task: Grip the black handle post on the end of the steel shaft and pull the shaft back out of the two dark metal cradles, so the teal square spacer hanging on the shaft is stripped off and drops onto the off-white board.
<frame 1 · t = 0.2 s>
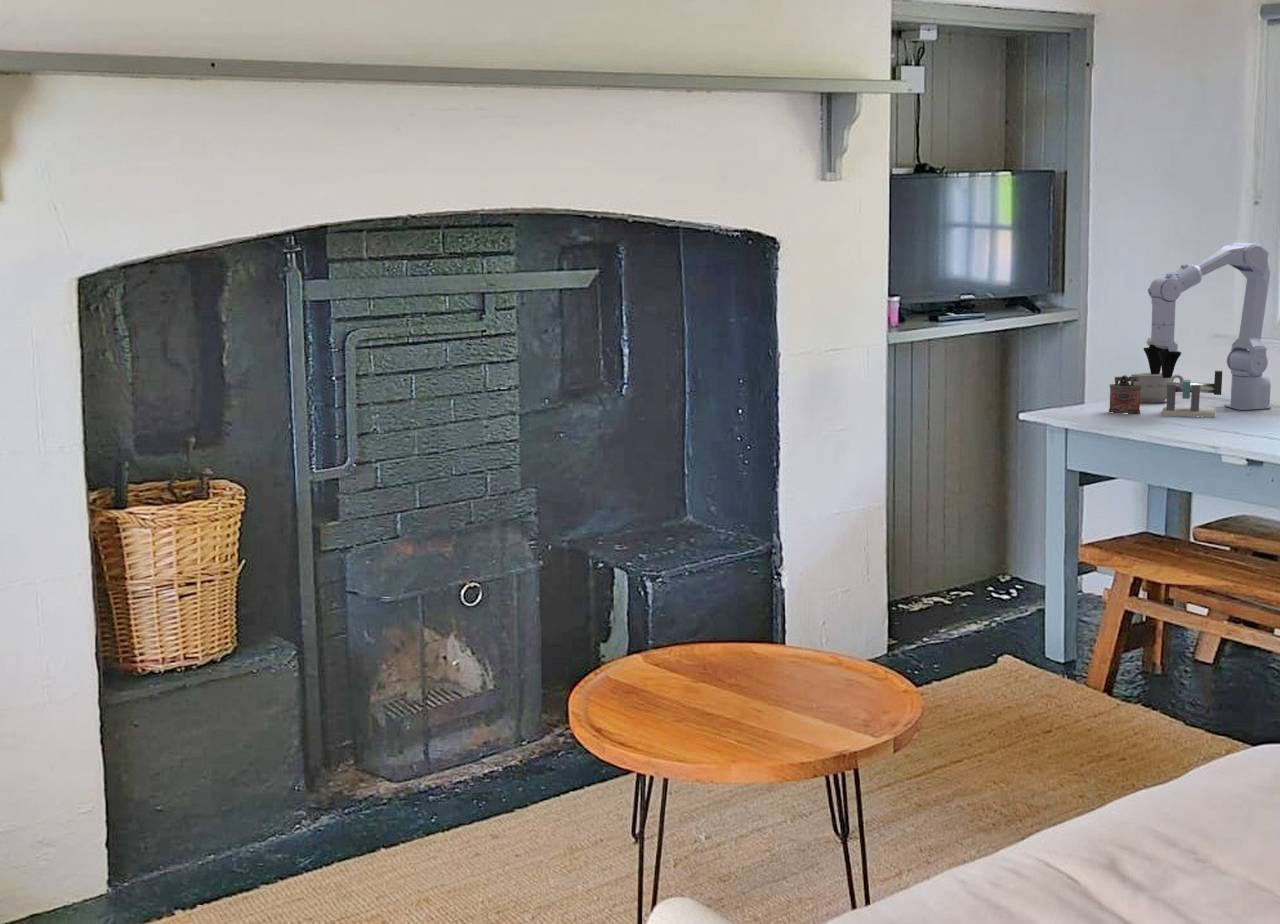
hand: (1161, 375, 410), 10 cm above the table, tool pointing down, fingers open, 7 cm apart
shaft: (1194, 382, 409), point 8 cm above the table, slide at 0.0 cm, touching spacer
shaft stand: (1186, 414, 411), on the table
teacup: (1156, 402, 433), on the table
spacer: (1186, 397, 410), point 4 cm above the table, touching shaft
lighter: (1124, 413, 414), on the table
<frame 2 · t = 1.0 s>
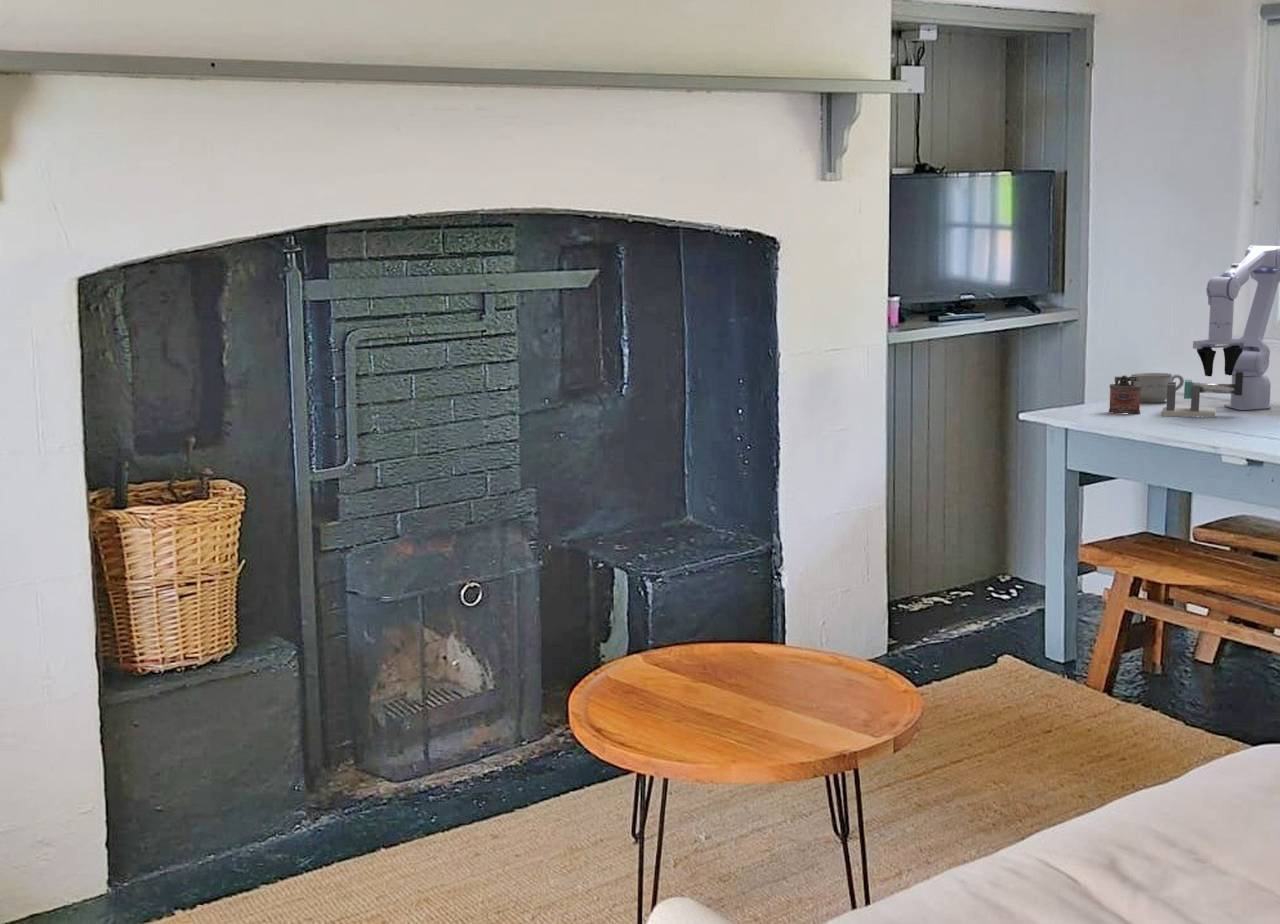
hand: (1218, 375, 406), 10 cm above the table, tool pointing down, fingers open, 5 cm apart
shaft: (1214, 382, 407), point 9 cm above the table, slide at 5.0 cm, touching spacer
spacer: (1187, 397, 410), point 4 cm above the table, touching shaft, shaft stand
everything else where it was.
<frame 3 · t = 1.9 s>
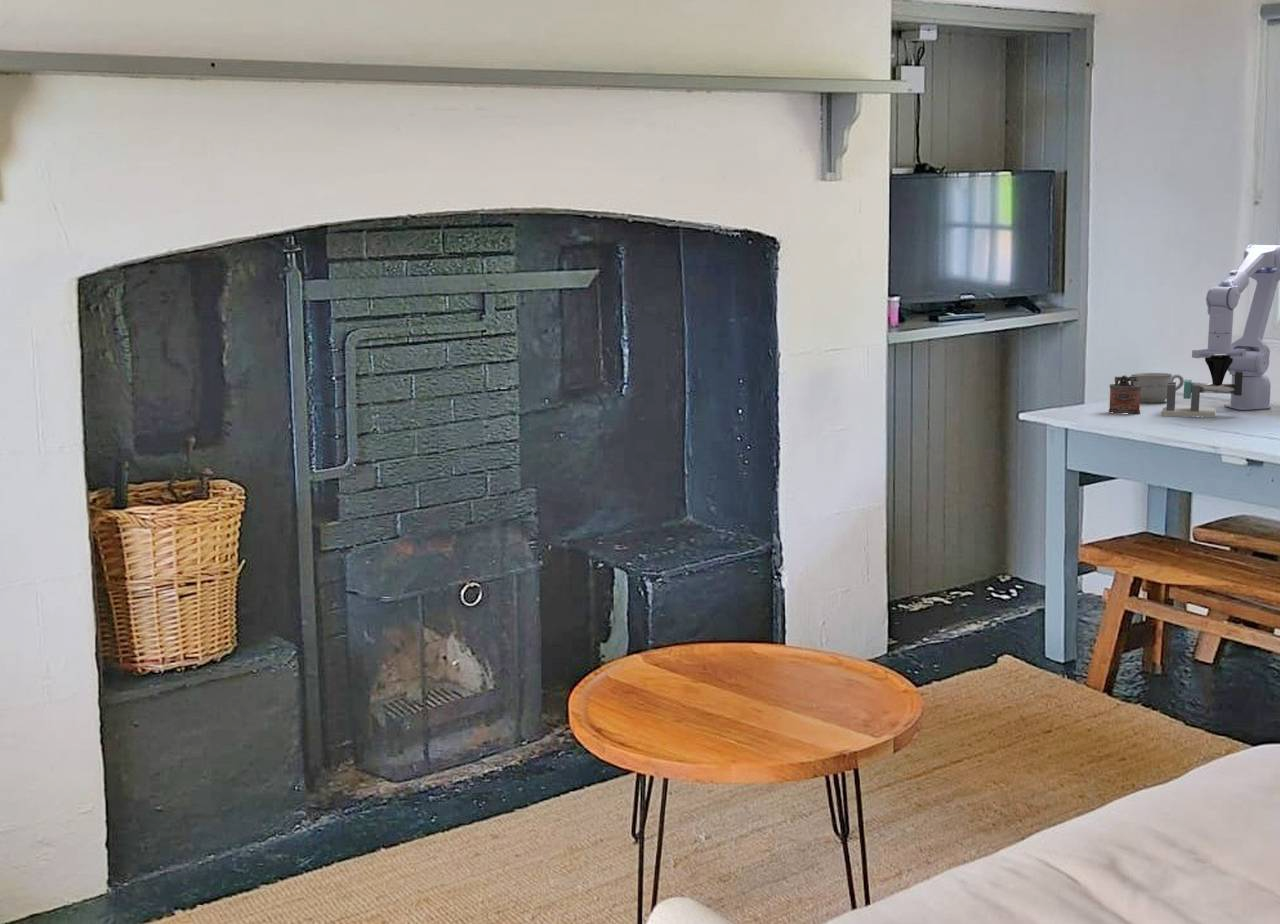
hand: (1217, 385, 407), 8 cm above the table, tool pointing down, fingers closed, pressing on shaft
shaft: (1214, 382, 407), point 8 cm above the table, slide at 4.9 cm, touching gripper, spacer
spacer: (1187, 397, 410), point 4 cm above the table, touching shaft
everything else where it was.
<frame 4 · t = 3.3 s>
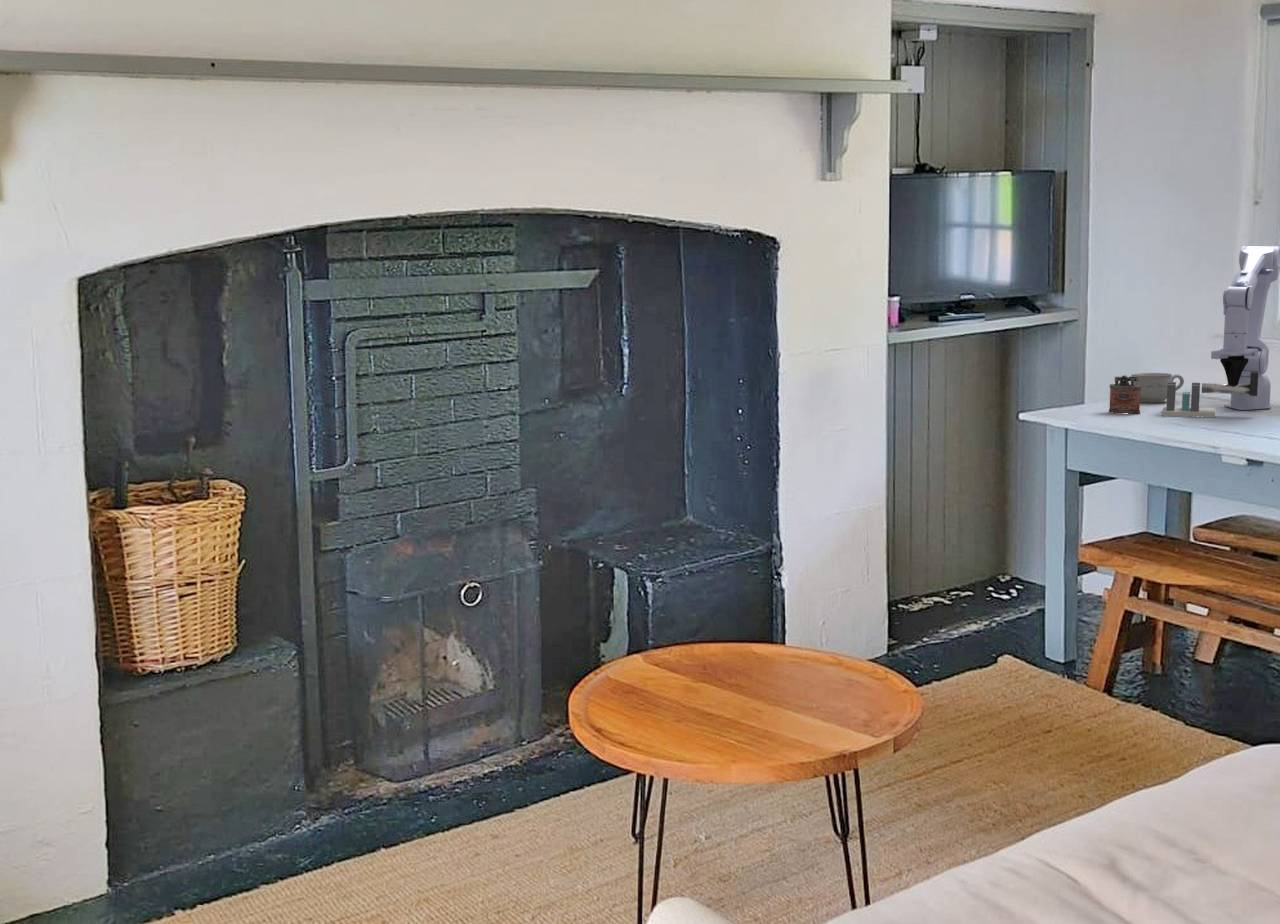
hand: (1232, 385, 405), 8 cm above the table, tool pointing down, fingers closed, pressing on shaft
shaft: (1229, 383, 406), point 9 cm above the table, slide at 8.7 cm, touching gripper
spacer: (1185, 409, 411), point 1 cm above the table, touching shaft stand
everything else where it was.
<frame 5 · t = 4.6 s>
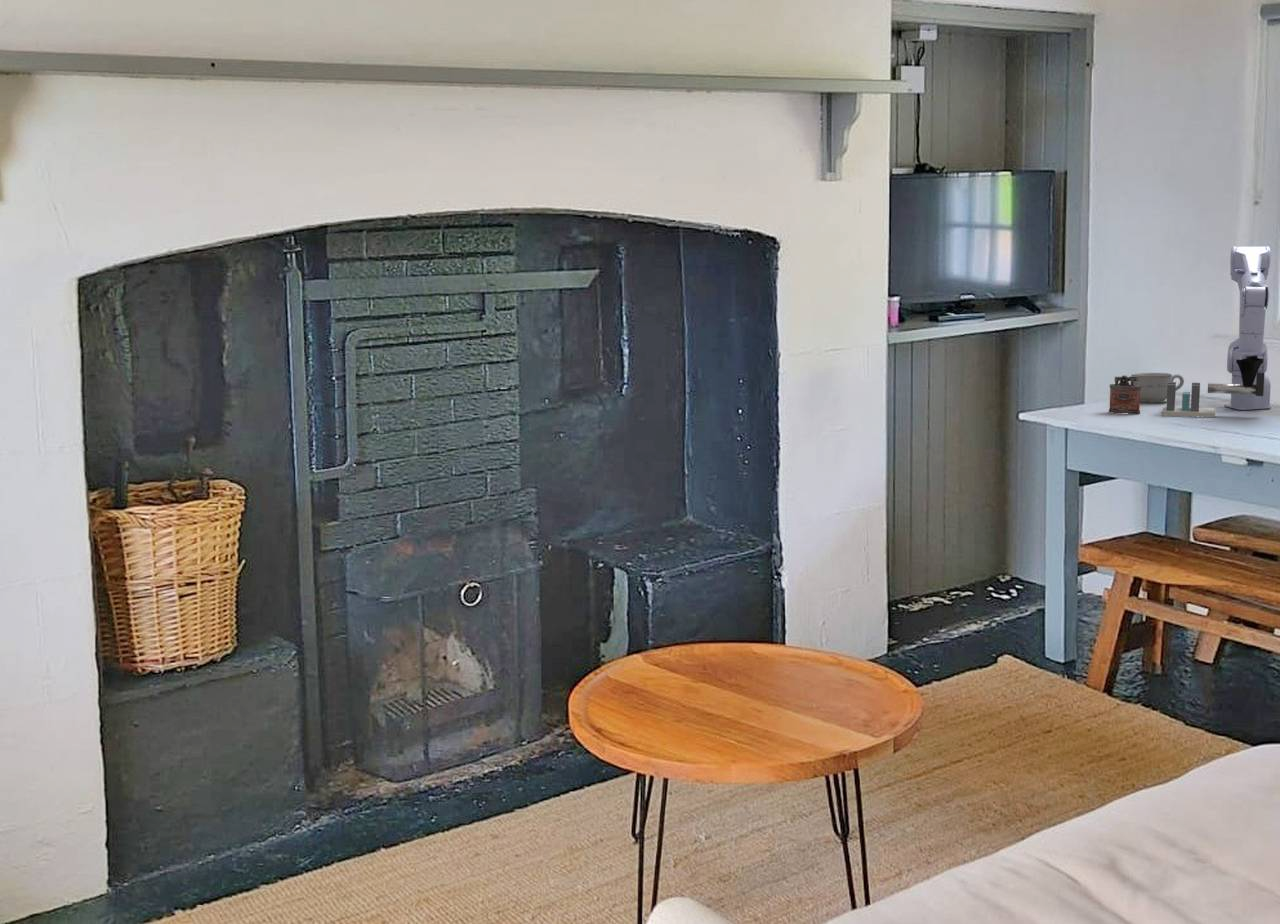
hand: (1247, 385, 404), 8 cm above the table, tool pointing down, fingers closed, pressing on shaft
shaft: (1235, 383, 405), point 9 cm above the table, slide at 10.1 cm, touching gripper
everything else where it was.
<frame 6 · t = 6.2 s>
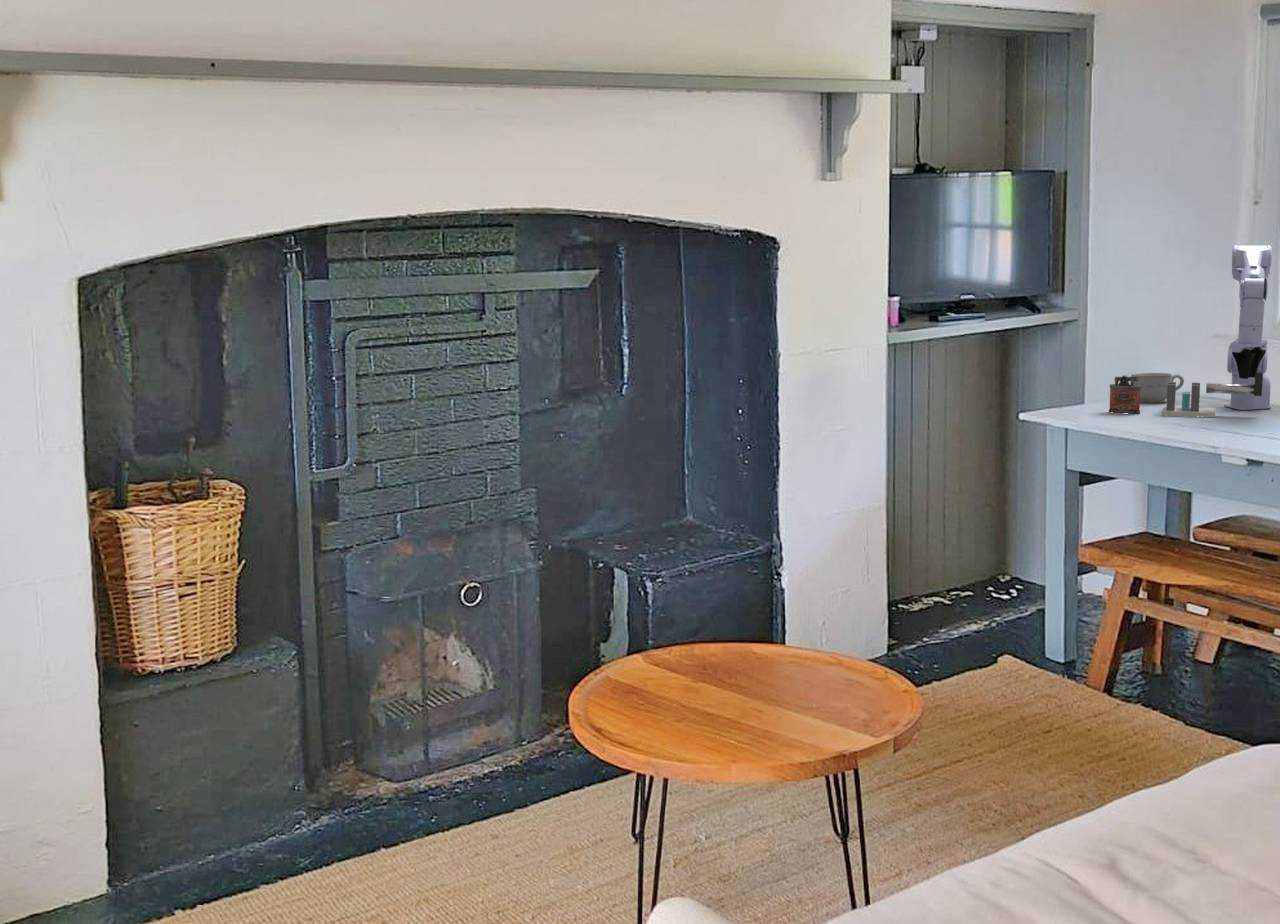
hand: (1247, 377, 403), 10 cm above the table, tool pointing down, fingers open, 3 cm apart
shaft: (1234, 383, 405), point 9 cm above the table, slide at 9.8 cm, touching gripper
everything else where it was.
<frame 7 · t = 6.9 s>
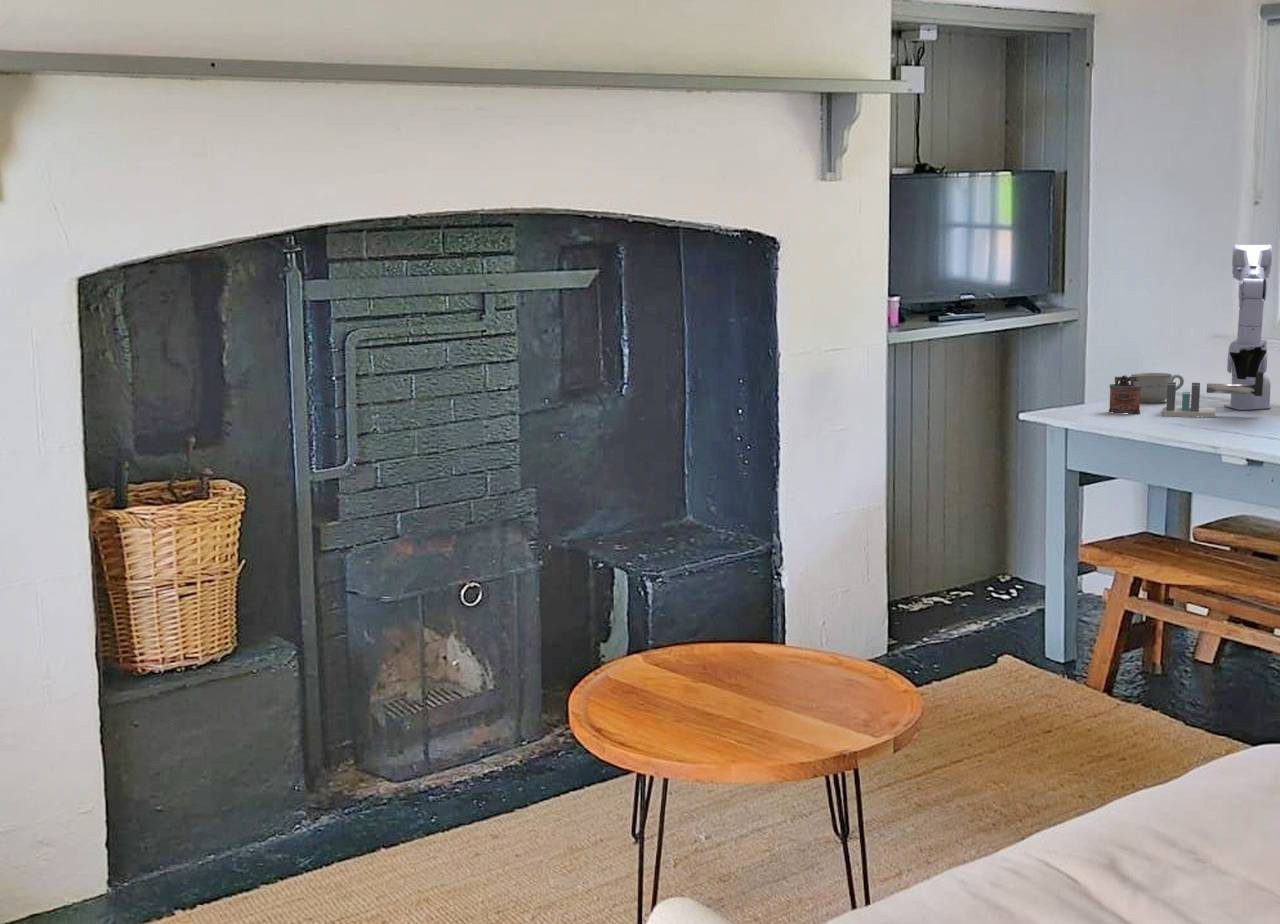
hand: (1246, 378, 402), 10 cm above the table, tool pointing down, fingers open, 4 cm apart
nothing on the table moved.
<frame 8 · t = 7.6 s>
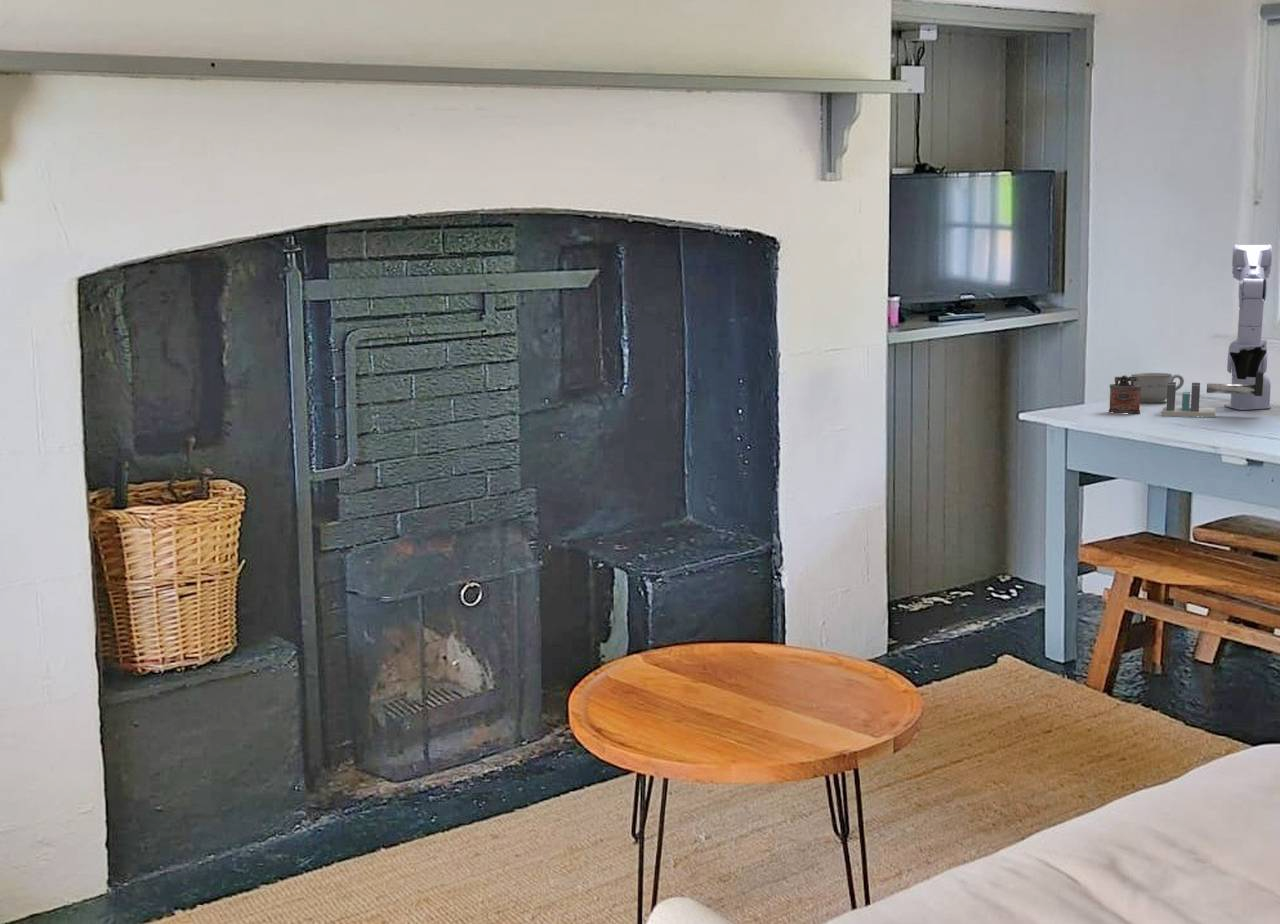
hand: (1246, 378, 402), 10 cm above the table, tool pointing down, fingers open, 4 cm apart
nothing on the table moved.
at the end: shaft slide at 9.9 cm; spacer point 1.2 cm above the table; the gripper is holding nothing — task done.
